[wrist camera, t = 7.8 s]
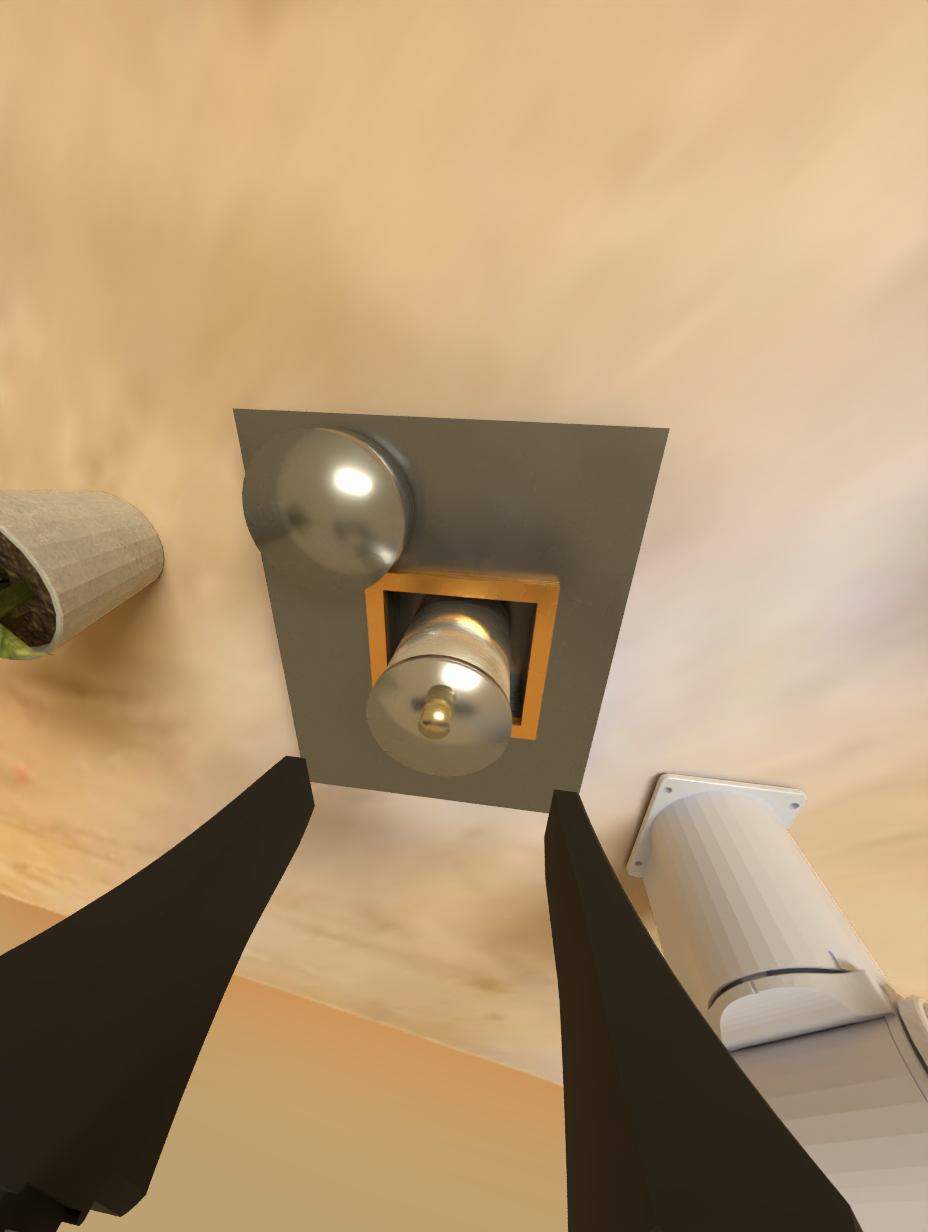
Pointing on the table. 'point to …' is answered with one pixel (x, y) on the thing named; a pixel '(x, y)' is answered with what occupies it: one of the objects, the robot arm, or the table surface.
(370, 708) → the spout can
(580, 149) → the table surface
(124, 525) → the house plant
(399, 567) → the grey block with opening
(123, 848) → the table surface
